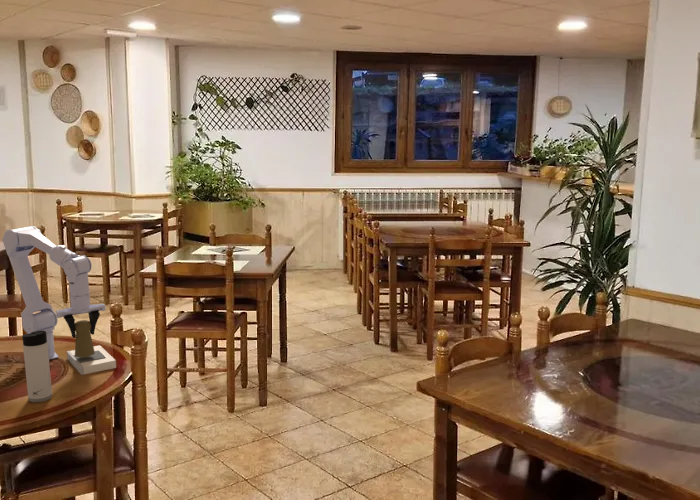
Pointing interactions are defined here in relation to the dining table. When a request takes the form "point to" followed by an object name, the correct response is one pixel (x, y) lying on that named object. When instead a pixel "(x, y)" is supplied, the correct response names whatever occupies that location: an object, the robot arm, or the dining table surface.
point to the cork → (83, 339)
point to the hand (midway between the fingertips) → (83, 335)
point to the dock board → (92, 362)
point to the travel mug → (37, 366)
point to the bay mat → (91, 357)
